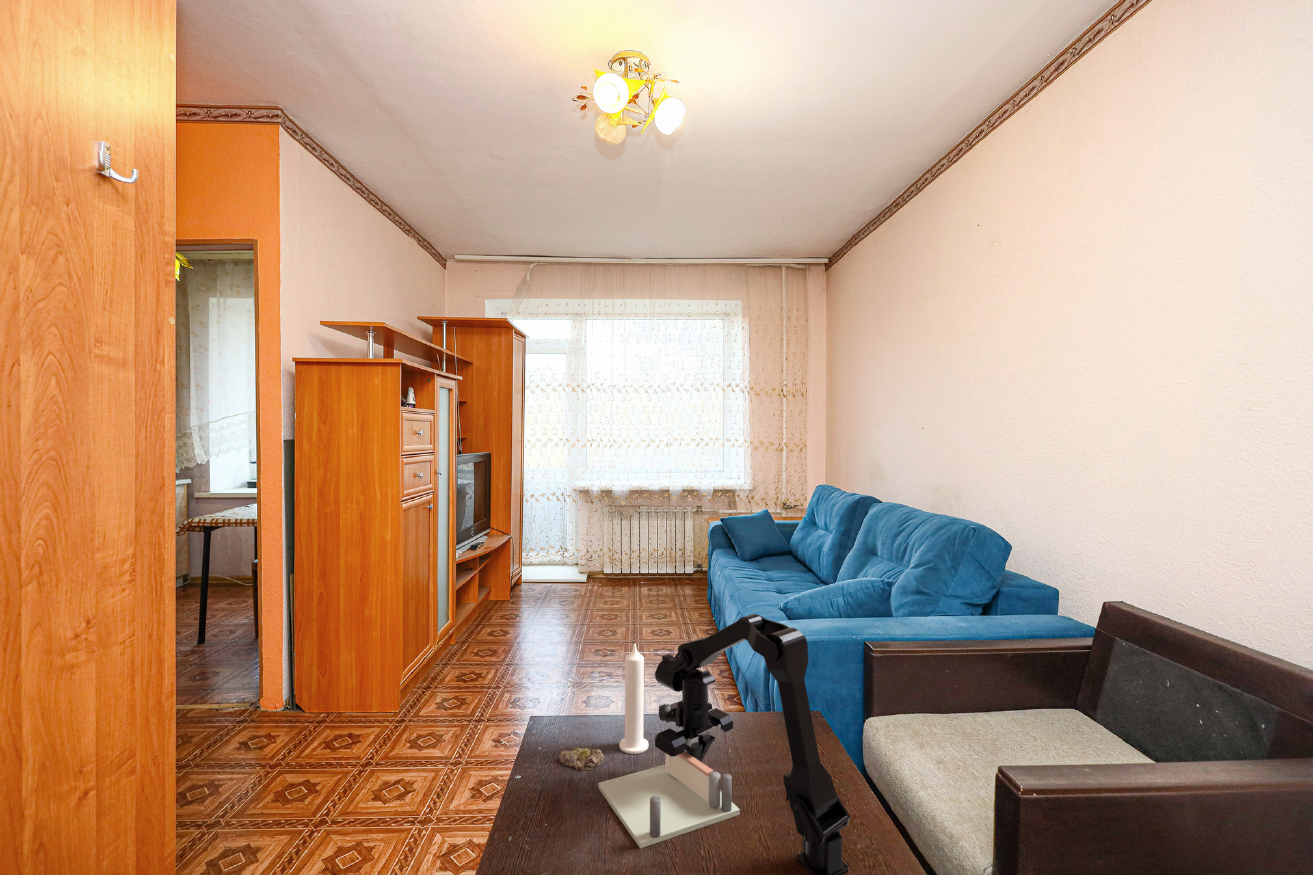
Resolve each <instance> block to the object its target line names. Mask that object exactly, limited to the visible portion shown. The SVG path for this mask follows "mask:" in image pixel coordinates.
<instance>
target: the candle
mask: <svg viewBox="0 0 1313 875" xmlns="http://www.w3.org/2000/svg"><path fill="white" fill-rule="evenodd" d="M624 658H625V659H624V660H625V662H624V663H625V665H624V666H625V667H624V738H622V739H621V740H620V741H619V750H620V751H621V752H623V753H625V754H630V755H637V754H641V753H644V752H646V751H647V750H648V749H649V741H648V740H647V739H646V738H644V701H645V700H644V698H645V697H644V695H645V694H644V693H645V692H644V684H645V683H644V682H645V680H644V679H645V678H644V676H645V674H644V673H645V670H644V667H645V663H644V662H645V657H644V656H643V654H642V653H640V652H639V651H638V648H637V644H636V643H633V645H632V650H631V652H630V653H628V654H627V655H626V656H625V657H624Z"/></svg>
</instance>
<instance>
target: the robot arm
mask: <svg viewBox="0 0 1313 875" xmlns="http://www.w3.org/2000/svg"><path fill="white" fill-rule="evenodd" d="M807 640H808V639H807V637H806V636H805V634H804V633H802V632H801V631H800V629H797V628H795V627H789V626H788V625H786V624H784V623H781V622H779V621H774V620H772V619H767V618H765V617H764V616H762V615H760V614H756V613H752V614H749V615H746V616H745V615H744V616H742V617H740V618H738V619H737V620H736V621H735V622H733V623H731V624H728V626H725V627H724V628H721V629H720V630H718V631H716V632H715V633H712V634H711V635H709V636H705V637H702V638H701V637H699V638H698V639H693V640H691V641H688V642H685V643H681V644H679V645H678V647H677V653H676V654H675V656H673V655H672V654H670V653H667V654H664V655H662V657H661V661H660V662H659V664H658V665H657V667H656V670H655V671H654V678H655V680H656V682H657V683H658V684H660V685H662V686H664V687H666V688H668V689H670V690H672V691H674V692H677V693H680V692H681V700H679V701H676V702H674V703H671V704H669V703H667V704H666V703H664V704H661V705H659V706H658V716H659V718H658V719H659V720H660V721H661V722H665V723H667V724H669V723H670V722H671V723H675V726H676V727H678V728H682V730H678V731H675V730H674V729H672V728H667V729H664V730H663V731H659V732H658V733H657V734H656V735H654V747H655V748H657V749H658V750H660V751H662V752H663V753H666V754H668V755H669V756H672V757H675V756H677V755H679V754H681V753H683V752H684V751H685V752H687V753H688V754H690V755H691V756H693V757H694V758H696V759H697V760H699V761H700V762H702V763H703V760H704V758H705V756H706V755H707V753H708V751H709V749H710V747H711V745H712V744H713V742H715V740H716V736H713V735H712V734H711V730H713V729H715V728H717V727H719V725H720V730H721V731H722V732H723V733H727V732H729V731H731V730H733V729H734V719H733V717H732V715H731V714H729V713H727V712H726V711H723V710H721V709H720V708H717V707H716V708H713V704H712V703H710V702H709V686H710V685H711V684H714V683H715V682H716V681H717V680H716V678H715V676H714V675H712V674H711V673H710V671H709V670H704V671H702V670H700V668H703V667H706V666H709V665H711V664H712V663H713V662H714V661H716V660H717V659H718V658H719V656H720V654H722V652H724V651H726V650H728V649H730V648H732V647H734V646H736V645H738V644H741V643H742V642H745V641H747V643H748V645H749V646H750V648H751V649H752V650H753V651H754V652H755V653H757V654H758V655H760V656H762V657H763V659H764V662H765V666H766V668H767V670H768V671H769V673H770V674H771V675H772V677H773V678H774V679H775V681H776V682H777V687H778V692H779V697H780V702H781V703H780V704H781V708H782V713H783V719H784V724H785V729H786V730H785V731H786V734H787V741H788V747H789V751H790V752H789V753H790V756H791V762H792V766H791V769H790V770H791V771H789V772H788V773H786V774H784V775H783V777H782V778H783V780H782V781H783V785H784V789H785V792H786V796H785V801H787V802H788V803H789V807H790V810H791V812H792V815H793V819H794V823H795V827H796V832H797V833H798V835H801V836H802V851H803V852H801V853H799V854H797V855H796V859H797V861H799V862H800V863H801V865H803V866H804V867H805V868H806V869H807V870H808V871H809V872H810V874H812V875H840V874H842V873H847V871H849V869H850V867H849V865H848V864H847V863H845V861H843V836H842V835H841V834H840V832H841V830H842V829H843V828H845V827H847V826H848V824H849V822H850V820H851V815H850V813H849V812H848V810H847V808H846V807H845V806H844V804H843V802H842V800H841V799H840V797H839V795H838V794H837V791H836V788H835V784H834V781H833V778H832V775H831V773H830V772H829V771H828V770H827V768H826V766H825V765H824V764H823V763H822V761H821V758H820V755H819V754H820V753H819V750H818V744H817V739H816V734H815V727H814V722H813V717H812V711H811V707H810V702H809V698H808V697H809V696H808V692H807V686H806V682H805V677H806V672H807V668H808V665H809V649H808V641H807Z"/></svg>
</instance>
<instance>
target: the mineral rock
mask: <svg viewBox="0 0 1313 875" xmlns="http://www.w3.org/2000/svg"><path fill="white" fill-rule="evenodd" d="M604 760H605V756H604V754H603V753H602V750H600V749H596V748H595V749H594V748H593V749H591V748H588V747H585V748H584V747H583V748H580V747H576V746H575V747H574V748H573V749H571V750H567V749H566V750H561V751H560V752H559V758H558V761H559V762H560V763H561V765H564V766H566V767H567V766H568V767H572V768H575V770H577V771H581V772H582V771H587V770H588V771H590V770H593V769H594V768H597V767H600V766H601V765H602V764H603V763H604Z"/></svg>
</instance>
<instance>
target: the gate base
mask: <svg viewBox="0 0 1313 875" xmlns="http://www.w3.org/2000/svg"><path fill="white" fill-rule="evenodd" d="M732 781H733V776H732V775H731V774H729V773H723V774H722V775H721V790H720V807H718V808H712V807H710V805H709V802H707V801H705V800H704V799H703V798H701V797H700V796H699V795H697V794H696V793H695V792H693V791H692V790H691V789H689V788H688V787H687V786H685V785H684V784H683V783H681V782H680V781H679V780H677V779H676V778H675V777H673V776H672V775H671V774H668V773H667V772H666V771H665V764H661V765H658V766H654V767H652V768H651V767H650V768H648V769H643V770H641V771H637V772H633V773H630V774H626V775H622V776H619V777H615V778H611V779H609V780H605V781H604V780H603V781H601V782H598V783H597V788H598V791H600V793H601V794H602V796H603V797H604V798H605V800H606V801H607V803H608V805H610V807H611V808H612V811H613V812H614V813H615V814H616V816H617V817H618V818H619V819H618V820H619V821H620V822H621V823H622V824H623V826H624V827H625V829H626V831H628V832H627V833H629V835H630V836H631V838H632V839H633V840H634V842H635V843H636V845H637V847H638V848H639V849H643V848H645V847H648V846H653V845H654V844H657V843H660V842H663V841H666V840H670V839H672V838H675V837H678V836H680V835H683V834H687V833H689V832H693V831H696V830H698V829H701V828H704V827H708V826H710V825H713V824H714V825H715V824H716V823H719V822H721V821H725V820H728V819H730V818H733V817H736V816H739V815H741V809H740V808H739V807H738V806H737V805H736V804H735V803H734V802H733V801H732V800H733V799H732V797H733V796H732V795H733V794H732V792H733V791H732V790H733V789H732V788H733V782H732Z"/></svg>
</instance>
